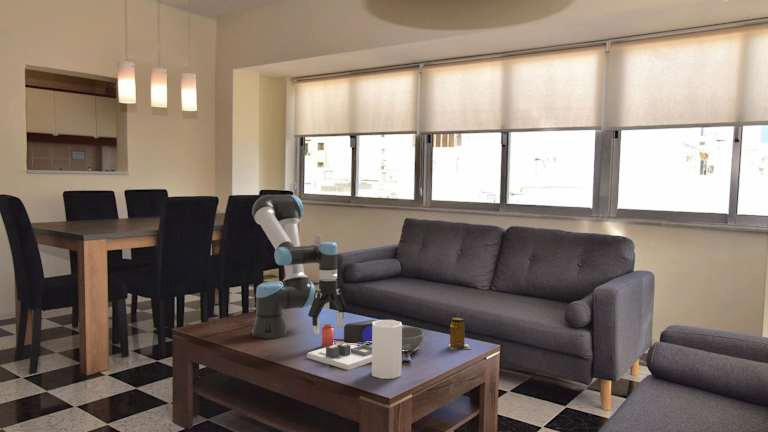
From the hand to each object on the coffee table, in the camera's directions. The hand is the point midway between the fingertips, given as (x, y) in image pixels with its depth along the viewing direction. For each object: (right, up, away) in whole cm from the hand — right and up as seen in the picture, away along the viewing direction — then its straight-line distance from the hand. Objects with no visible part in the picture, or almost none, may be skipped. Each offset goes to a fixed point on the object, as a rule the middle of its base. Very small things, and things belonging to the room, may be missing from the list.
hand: (328, 330), depth 236 cm
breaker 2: (+8, -6, -16) cm, 19 cm away
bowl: (+31, -8, -3) cm, 32 cm away
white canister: (+24, -9, -32) cm, 41 cm away
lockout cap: (0, -7, +1) cm, 7 cm away
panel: (+8, -8, -14) cm, 18 cm away
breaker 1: (+3, -6, -19) cm, 21 cm away
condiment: (+55, -8, +3) cm, 55 cm away
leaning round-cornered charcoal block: (+13, -7, +6) cm, 16 cm away
